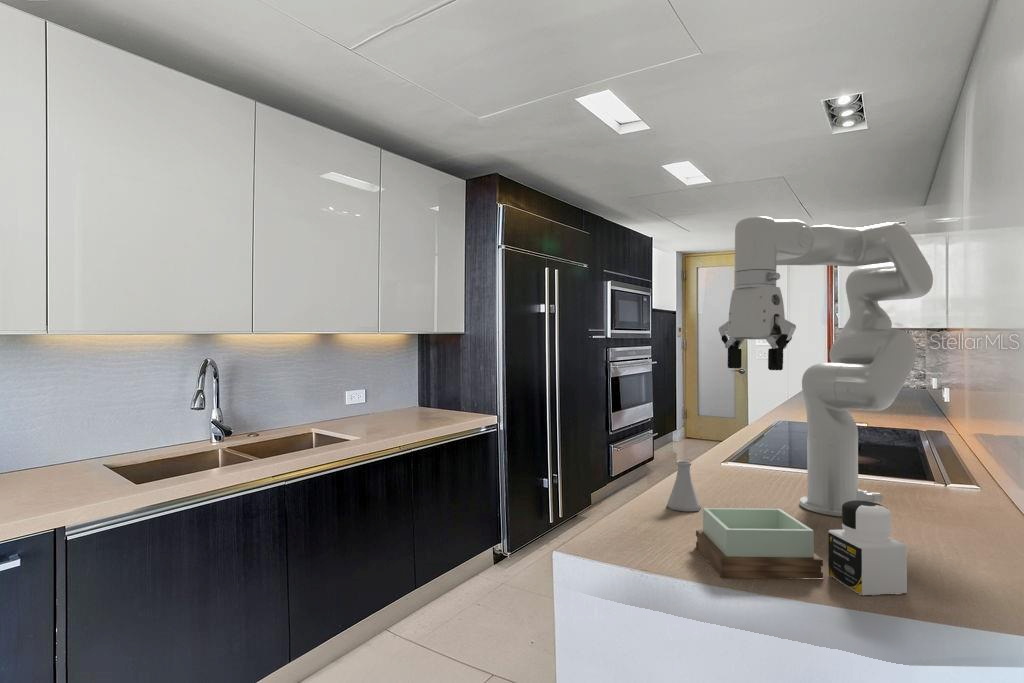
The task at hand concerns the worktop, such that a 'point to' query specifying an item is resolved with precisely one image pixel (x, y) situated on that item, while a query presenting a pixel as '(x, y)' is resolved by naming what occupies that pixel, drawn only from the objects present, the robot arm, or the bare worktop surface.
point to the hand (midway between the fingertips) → (754, 369)
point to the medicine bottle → (867, 551)
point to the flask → (683, 490)
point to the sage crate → (757, 533)
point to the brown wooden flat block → (758, 563)
